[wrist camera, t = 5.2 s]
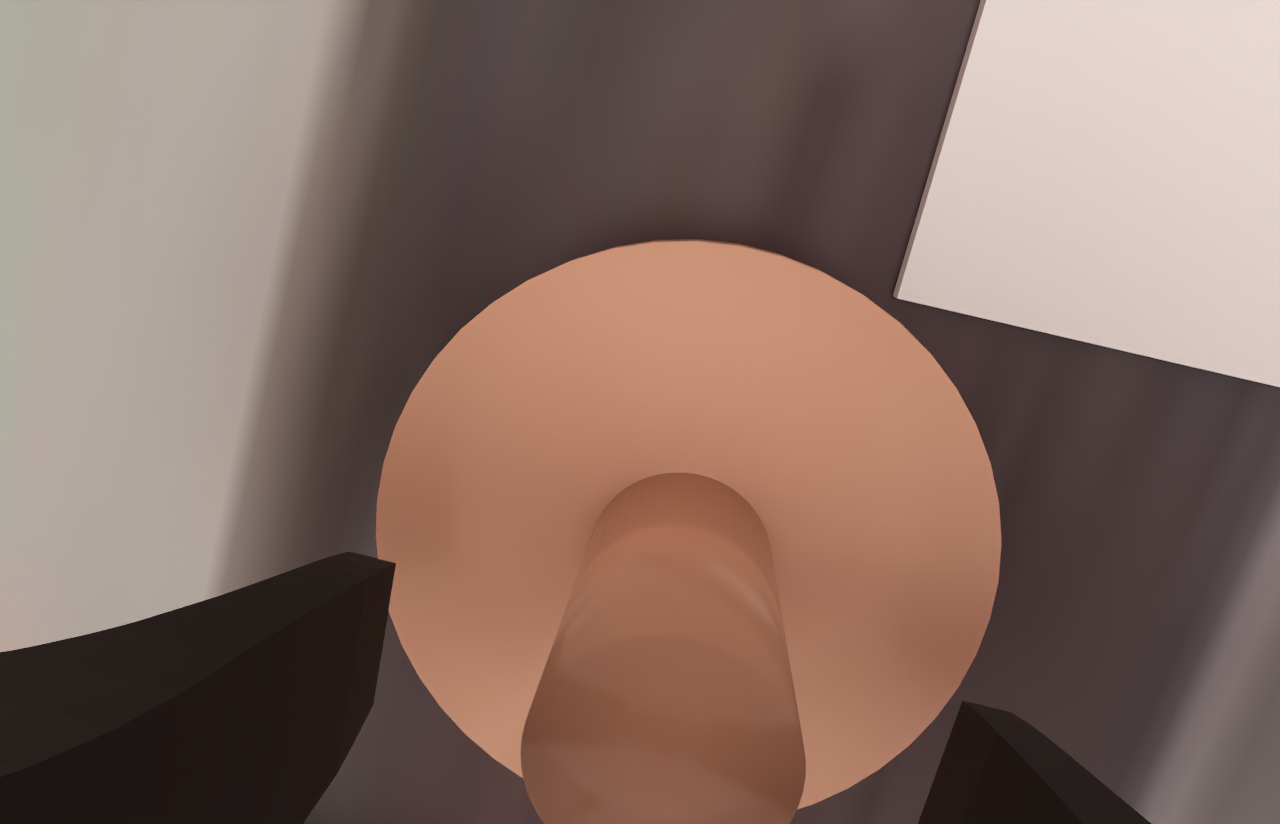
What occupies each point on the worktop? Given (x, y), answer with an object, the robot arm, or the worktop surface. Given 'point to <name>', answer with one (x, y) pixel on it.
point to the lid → (688, 535)
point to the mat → (1113, 180)
